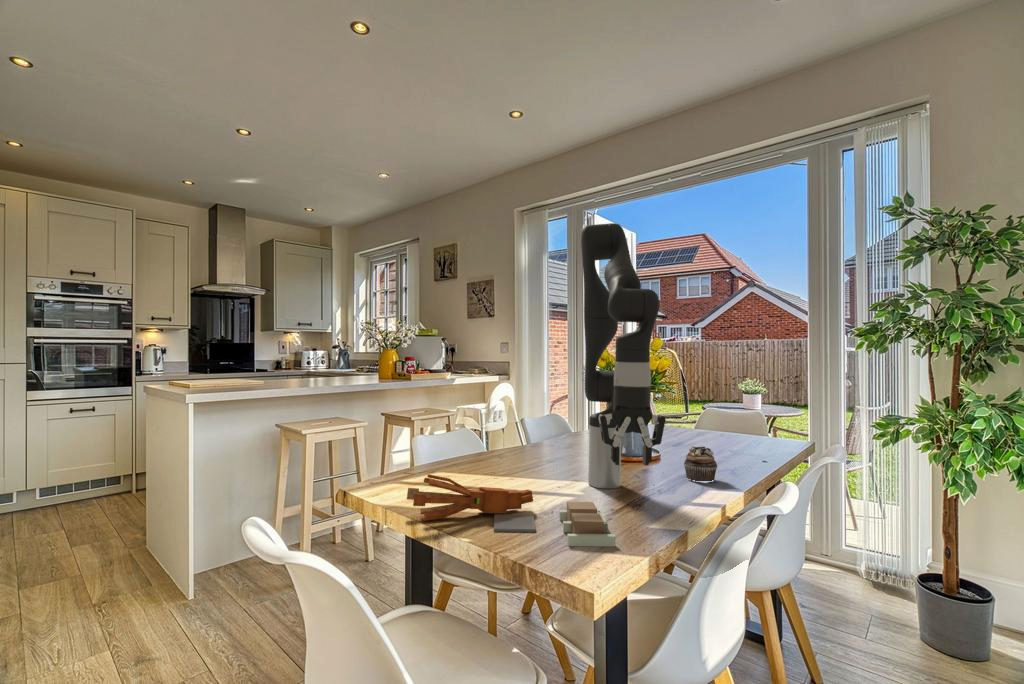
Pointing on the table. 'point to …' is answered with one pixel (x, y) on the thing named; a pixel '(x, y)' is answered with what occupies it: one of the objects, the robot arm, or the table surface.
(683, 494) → the table surface
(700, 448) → the cupcake
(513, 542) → the table surface
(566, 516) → the rack
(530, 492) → the toy
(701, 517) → the table surface
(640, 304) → the robot arm
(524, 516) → the pad
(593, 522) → the block
